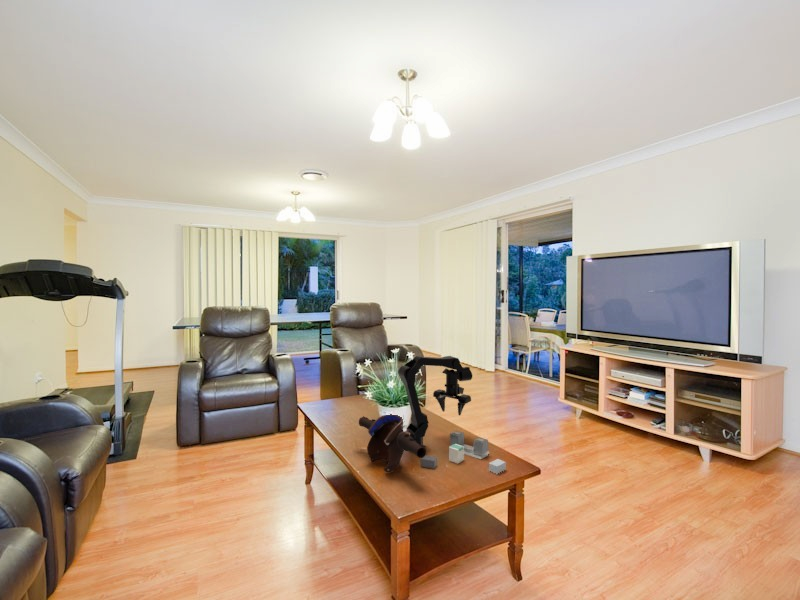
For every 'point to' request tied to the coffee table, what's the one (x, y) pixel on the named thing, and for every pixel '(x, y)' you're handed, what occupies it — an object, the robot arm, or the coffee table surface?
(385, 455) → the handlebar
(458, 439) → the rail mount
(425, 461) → the block
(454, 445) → the block
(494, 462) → the terminal block
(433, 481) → the coffee table surface
